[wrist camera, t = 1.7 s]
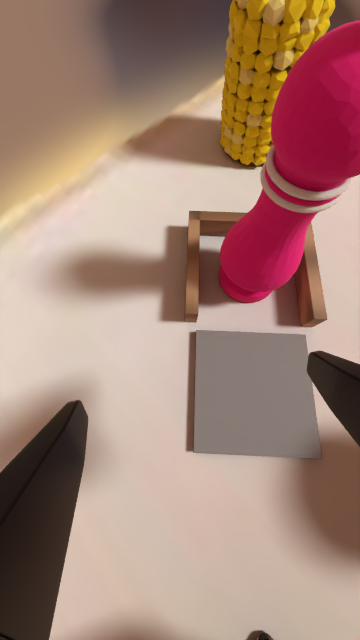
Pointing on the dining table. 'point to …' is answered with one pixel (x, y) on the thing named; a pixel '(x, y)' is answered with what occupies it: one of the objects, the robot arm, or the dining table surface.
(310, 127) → the pepper mill
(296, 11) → the food
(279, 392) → the rubber mat
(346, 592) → the dining table surface
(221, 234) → the frame
